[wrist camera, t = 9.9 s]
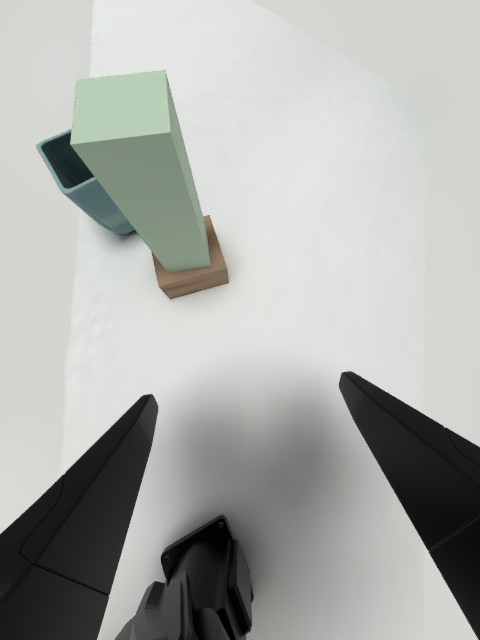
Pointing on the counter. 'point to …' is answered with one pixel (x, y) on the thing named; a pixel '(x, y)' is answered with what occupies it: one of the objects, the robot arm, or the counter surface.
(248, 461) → the counter surface
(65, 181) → the flower pot
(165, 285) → the walnut block
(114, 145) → the sage pillar
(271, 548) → the counter surface
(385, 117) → the counter surface
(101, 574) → the robot arm
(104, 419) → the counter surface
